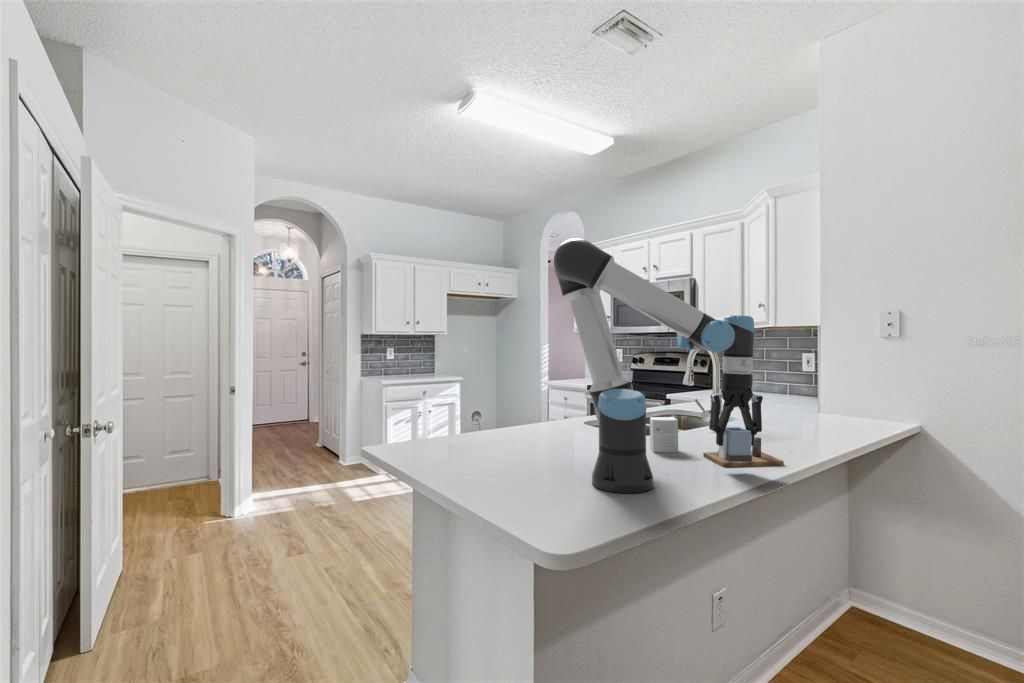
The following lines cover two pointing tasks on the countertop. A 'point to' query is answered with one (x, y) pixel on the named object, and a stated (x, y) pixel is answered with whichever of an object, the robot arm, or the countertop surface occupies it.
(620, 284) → the robot arm
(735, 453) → the sleeve
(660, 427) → the small box
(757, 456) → the pin board
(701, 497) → the countertop surface
